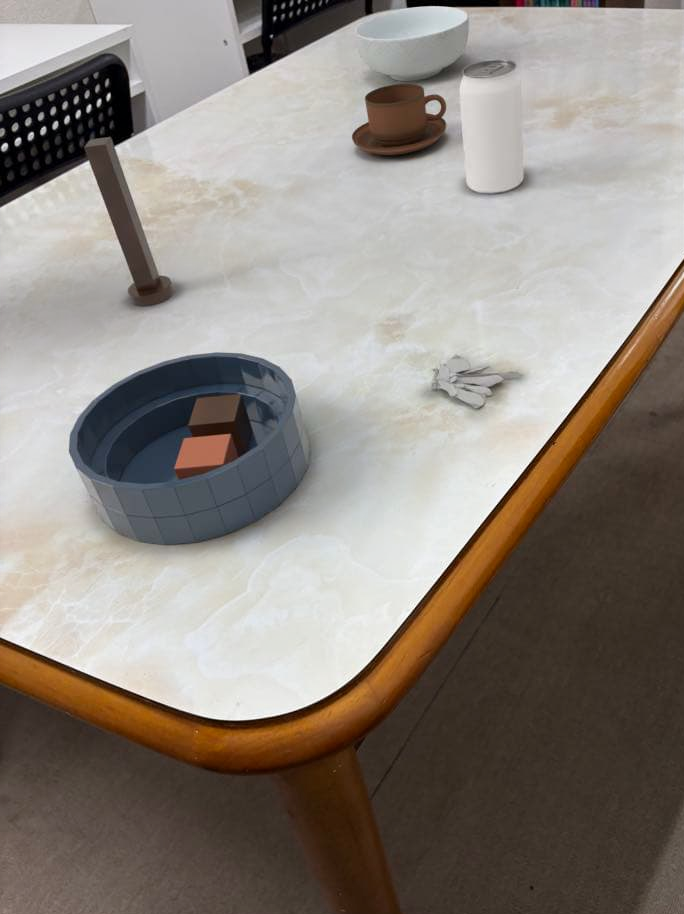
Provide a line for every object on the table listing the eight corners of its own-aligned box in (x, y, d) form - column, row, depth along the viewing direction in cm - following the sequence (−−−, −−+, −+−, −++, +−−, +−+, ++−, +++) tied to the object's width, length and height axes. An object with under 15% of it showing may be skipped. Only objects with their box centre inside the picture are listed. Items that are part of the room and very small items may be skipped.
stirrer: (126, 309, 86) (66, 154, 75) (137, 288, 89) (81, 136, 79) (169, 304, 85) (114, 147, 75) (178, 283, 89) (127, 130, 78)
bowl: (70, 558, 59) (37, 499, 56) (127, 420, 71) (103, 363, 67) (299, 539, 58) (281, 476, 54) (319, 401, 70) (305, 342, 66)
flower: (509, 362, 72) (513, 333, 70) (534, 416, 66) (539, 385, 64) (421, 366, 71) (422, 337, 69) (438, 421, 65) (440, 391, 63)
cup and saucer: (421, 121, 115) (416, 71, 111) (464, 145, 107) (460, 91, 102) (340, 145, 112) (331, 95, 108) (377, 171, 104) (369, 118, 100)
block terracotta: (188, 506, 61) (173, 468, 59) (197, 475, 64) (183, 437, 61) (236, 502, 61) (223, 464, 58) (243, 471, 63) (231, 433, 61)
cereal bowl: (373, 100, 124) (366, 45, 119) (352, 70, 136) (344, 20, 131) (485, 75, 125) (482, 21, 121) (454, 49, 138) (450, -2, 133)
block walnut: (201, 462, 65) (187, 425, 62) (209, 434, 67) (196, 397, 65) (246, 458, 64) (234, 420, 62) (253, 430, 67) (241, 393, 64)
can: (455, 191, 97) (445, 75, 88) (485, 169, 100) (478, 56, 92) (505, 198, 93) (500, 79, 85) (534, 175, 97) (531, 59, 89)
